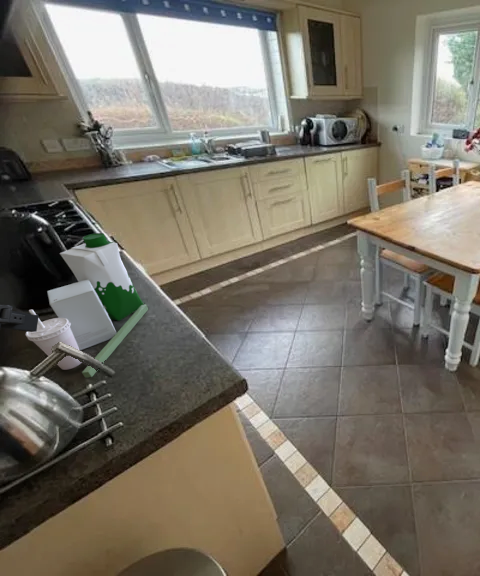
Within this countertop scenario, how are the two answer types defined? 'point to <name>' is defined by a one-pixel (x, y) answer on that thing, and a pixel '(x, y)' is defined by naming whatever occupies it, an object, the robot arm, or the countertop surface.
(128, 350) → the countertop surface
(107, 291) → the soya milk
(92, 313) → the white packaging box
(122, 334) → the straightedge
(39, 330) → the smoothie
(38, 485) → the countertop surface
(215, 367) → the countertop surface
